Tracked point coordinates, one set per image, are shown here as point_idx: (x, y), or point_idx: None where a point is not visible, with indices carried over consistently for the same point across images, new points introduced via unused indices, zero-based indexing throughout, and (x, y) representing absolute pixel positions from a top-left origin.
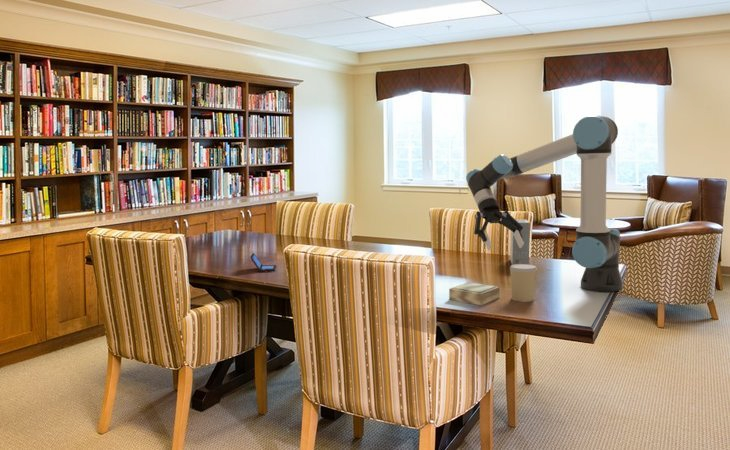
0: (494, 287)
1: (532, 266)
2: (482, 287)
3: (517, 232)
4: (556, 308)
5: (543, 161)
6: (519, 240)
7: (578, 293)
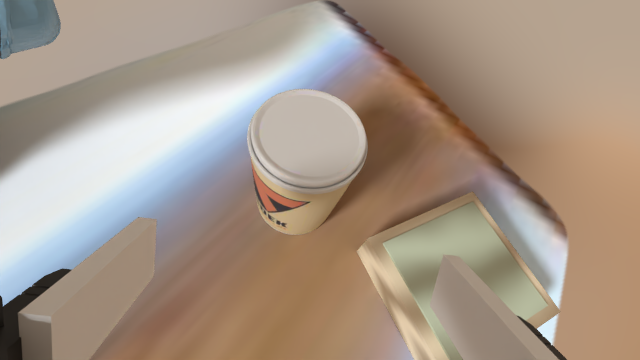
0: (390, 240)
1: (270, 116)
2: (439, 252)
3: (75, 289)
4: (281, 91)
5: None
6: (132, 261)
7: (59, 162)
